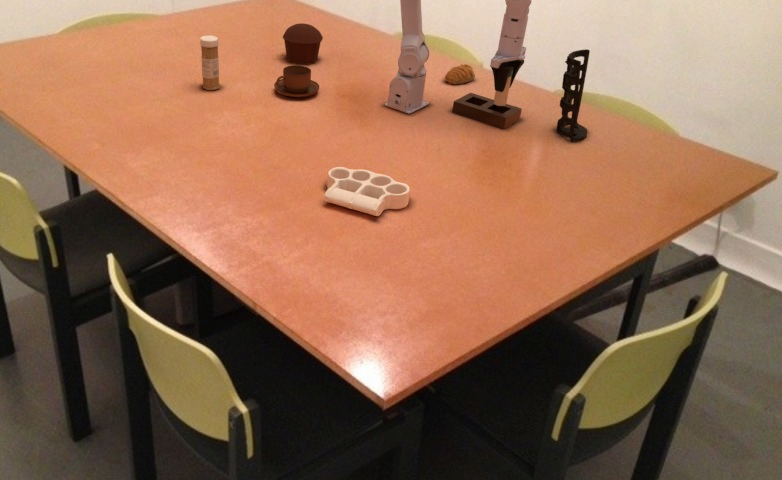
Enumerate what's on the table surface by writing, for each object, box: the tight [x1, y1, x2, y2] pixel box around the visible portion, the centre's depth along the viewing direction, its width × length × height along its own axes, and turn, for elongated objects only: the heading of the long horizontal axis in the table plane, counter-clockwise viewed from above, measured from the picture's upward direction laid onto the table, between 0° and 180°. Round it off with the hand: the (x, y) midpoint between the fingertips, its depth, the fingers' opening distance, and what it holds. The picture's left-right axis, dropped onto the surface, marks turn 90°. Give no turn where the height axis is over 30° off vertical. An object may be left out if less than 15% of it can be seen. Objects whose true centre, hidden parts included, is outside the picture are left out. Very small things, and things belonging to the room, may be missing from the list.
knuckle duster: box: [323, 166, 411, 217], centre depth 159 cm, size 3×18×15 cm
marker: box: [493, 70, 513, 106], centre depth 193 cm, size 3×4×9 cm
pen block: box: [451, 92, 523, 130], centre depth 199 cm, size 9×15×3 cm, turn 52°
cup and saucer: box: [273, 64, 320, 98], centre depth 204 cm, size 12×12×6 cm
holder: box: [556, 48, 591, 143], centre depth 188 cm, size 11×8×20 cm
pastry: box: [444, 63, 476, 85], centre depth 219 cm, size 9×7×4 cm
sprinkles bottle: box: [199, 34, 220, 91], centre depth 202 cm, size 5×5×13 cm
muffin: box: [282, 22, 324, 65], centre depth 225 cm, size 12×11×10 cm
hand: (502, 89), depth 194 cm, fingers closed on marker, 3 cm apart
